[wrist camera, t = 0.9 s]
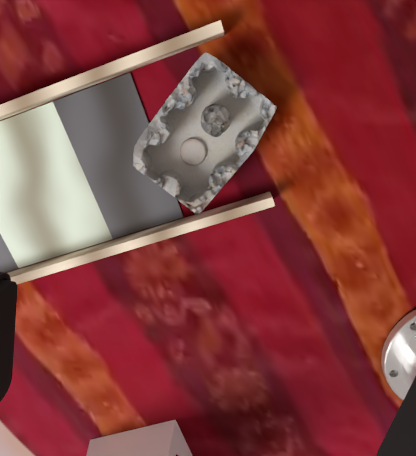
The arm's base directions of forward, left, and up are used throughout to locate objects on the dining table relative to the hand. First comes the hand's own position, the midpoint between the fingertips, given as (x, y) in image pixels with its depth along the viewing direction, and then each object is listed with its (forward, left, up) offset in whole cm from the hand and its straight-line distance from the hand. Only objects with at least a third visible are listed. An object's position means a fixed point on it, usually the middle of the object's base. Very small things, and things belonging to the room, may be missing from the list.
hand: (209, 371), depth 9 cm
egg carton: (+1, -3, -26) cm, 26 cm away
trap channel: (+13, -3, -26) cm, 29 cm away
